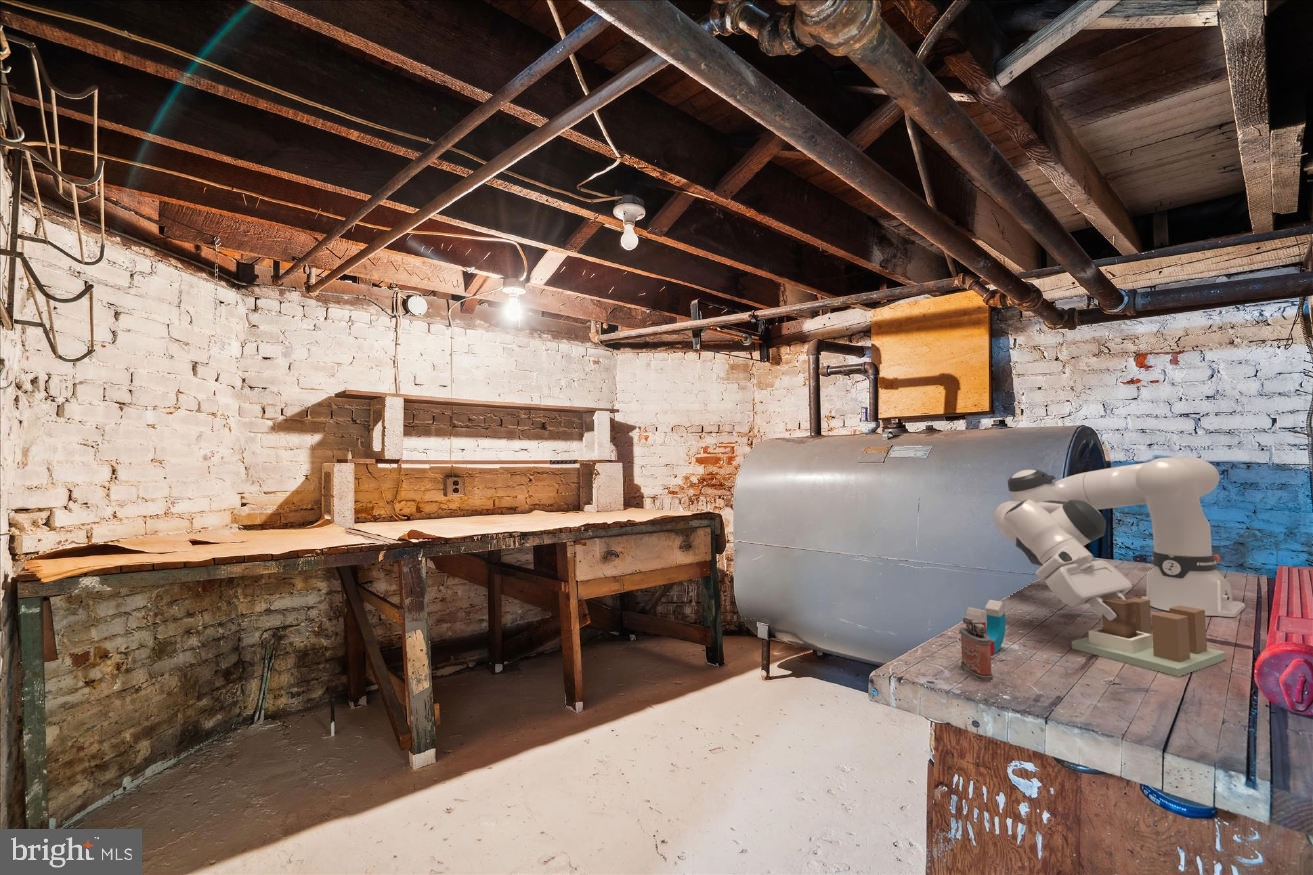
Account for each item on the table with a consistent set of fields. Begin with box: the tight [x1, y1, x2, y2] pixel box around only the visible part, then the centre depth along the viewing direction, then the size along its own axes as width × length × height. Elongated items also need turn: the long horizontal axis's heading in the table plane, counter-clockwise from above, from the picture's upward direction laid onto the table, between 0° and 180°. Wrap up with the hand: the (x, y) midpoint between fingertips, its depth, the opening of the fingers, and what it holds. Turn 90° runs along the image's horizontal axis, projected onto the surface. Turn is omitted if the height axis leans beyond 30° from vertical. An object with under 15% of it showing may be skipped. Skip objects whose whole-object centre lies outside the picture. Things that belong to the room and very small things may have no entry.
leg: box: [1101, 598, 1137, 639], centre depth 118 cm, size 4×4×8 cm
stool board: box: [1071, 595, 1227, 678], centre depth 116 cm, size 18×18×10 cm
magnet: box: [965, 599, 1007, 655], centre depth 119 cm, size 12×3×10 cm, turn 126°
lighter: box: [959, 615, 994, 682], centre depth 109 cm, size 8×3×10 cm, turn 179°
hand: (1122, 616), depth 117 cm, fingers closed on leg, 4 cm apart
